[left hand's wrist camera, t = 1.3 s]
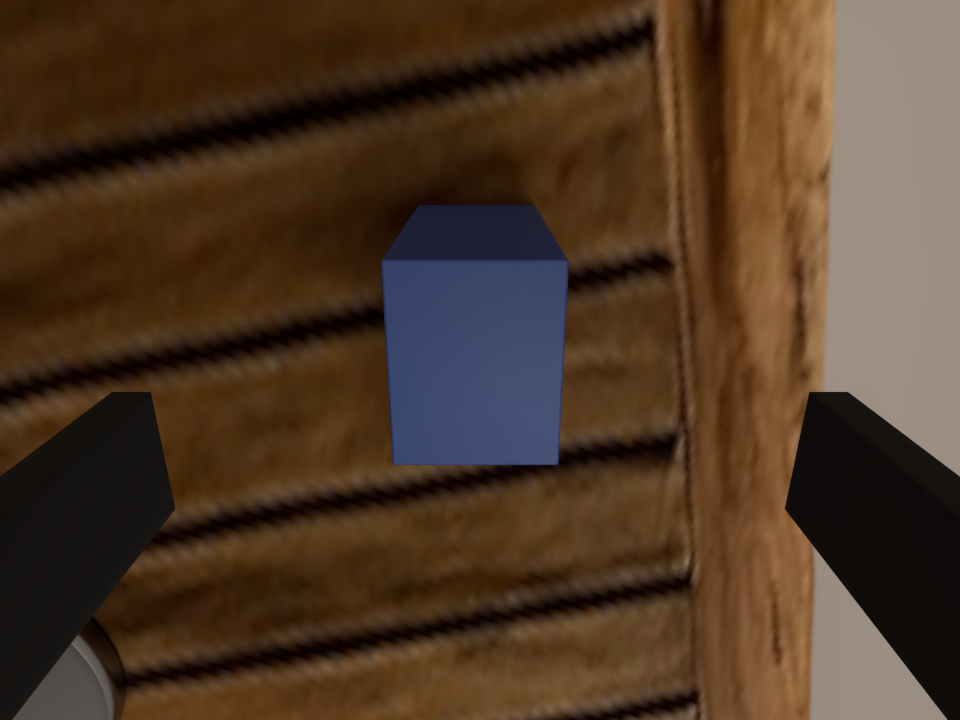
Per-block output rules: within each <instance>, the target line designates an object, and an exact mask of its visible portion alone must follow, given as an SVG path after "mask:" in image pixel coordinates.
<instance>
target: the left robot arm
mask: <svg viewBox="0 0 960 720" xmlns="http://www.w3.org/2000/svg"><path fill="white" fill-rule="evenodd" d="M174 510H175V506H174V501H173V496H172V492H171V487H170V482H169V477H168V473H167V468H166V463H165V458H164V454H163V449H162V444H161V439H160V435H159V430H158V425H157V420H156V416H155V411H154V406H153V401H152V397H151V392H112V393H110V394H109V395H108V396H106V397H105V398H104V399H102V400H101V401H100V402H98V403H97V404H96V405H94V406H93V407H92V408H90V409H89V410H88V411H86V412H85V413H84V414H82V415H81V416H80V417H78V418H77V419H76V420H75V421H73V422H72V423H71V424H69V425H68V426H67V427H65V428H64V429H63V430H61V431H60V432H59V433H57V434H56V435H55V436H53V437H52V438H51V439H49V440H48V441H47V442H45V443H44V444H43V445H41V446H40V447H39V448H37V449H36V450H35V451H34V452H32V453H31V454H30V455H28V456H27V457H26V458H24V459H23V460H22V461H20V462H19V463H18V464H16V465H15V466H14V467H12V468H11V469H10V470H8V471H7V472H6V473H4V474H3V475H2V476H0V720H119V719H120V717H121V715H122V712H123V708H124V704H125V681H124V675H123V672H122V668H121V665H120V663H119V660H118V658H117V656H116V654H115V652H114V650H113V648H112V646H111V645H110V643H109V642H108V640H107V639H106V637H105V636H104V635H103V633H102V632H101V631H100V630H99V629H98V627H97V626H96V625H95V624H94V623H93V622H92V621H91V620H90V619H91V617H92V616H93V615H94V613H95V612H96V611H97V609H98V608H99V607H100V606H101V604H102V603H103V602H104V600H105V599H106V598H107V597H108V595H109V594H110V593H111V591H112V590H113V589H114V587H115V586H116V585H117V584H118V582H119V581H120V580H121V578H122V577H123V576H124V575H125V573H126V572H127V571H128V569H129V568H130V567H131V565H132V564H133V563H134V562H135V560H136V559H137V558H138V556H139V555H140V554H141V552H142V551H143V550H144V549H145V547H146V546H147V545H148V543H149V542H150V541H151V540H152V538H153V537H154V536H155V534H156V533H157V532H158V530H159V529H160V528H161V527H162V525H163V524H164V523H165V521H166V520H167V519H168V518H169V516H170V515H171V514H172V512H173V511H174ZM785 510H786V511H787V512H788V514H789V515H790V516H791V518H792V519H793V520H794V521H795V523H796V524H797V525H798V527H799V528H800V529H801V530H802V532H803V533H804V534H805V536H806V537H807V538H808V540H809V541H810V542H811V543H812V545H813V546H814V547H815V549H816V550H817V551H818V552H819V554H820V555H821V556H822V558H823V559H824V560H825V562H826V563H827V564H828V565H829V567H830V568H831V569H832V571H833V572H834V573H835V574H836V576H837V577H838V578H839V580H840V581H841V582H842V584H843V585H844V586H845V587H846V589H847V590H848V591H849V593H850V594H851V595H852V597H853V598H854V599H855V600H856V602H857V603H858V604H859V606H860V607H861V608H862V609H863V611H864V612H865V613H866V615H867V616H868V617H869V618H870V620H871V621H872V622H873V624H874V625H875V626H876V628H877V629H878V630H879V631H880V633H881V634H882V635H883V637H884V638H885V639H886V641H887V642H888V643H889V644H890V646H891V647H892V648H893V650H894V651H895V652H896V654H897V655H898V656H899V657H900V659H901V660H902V661H903V663H904V664H905V665H906V666H907V668H908V669H909V670H910V672H911V673H912V674H913V676H914V677H915V678H916V679H917V681H918V682H919V683H920V685H921V686H922V687H923V689H924V690H925V691H926V692H927V694H928V695H929V696H930V698H931V699H932V700H933V701H934V703H935V704H936V705H937V707H938V708H939V709H940V710H941V712H942V713H943V714H944V716H945V717H946V718H947V720H960V476H958V475H957V474H956V473H954V472H953V471H952V470H950V469H949V468H948V467H946V466H945V465H944V464H942V463H941V462H940V461H938V460H937V459H936V458H934V457H933V456H932V455H930V454H929V453H928V452H926V451H925V450H924V449H922V448H921V447H920V446H919V445H917V444H916V443H914V442H913V441H912V440H911V439H909V438H908V437H907V436H905V435H904V434H903V433H901V432H900V431H899V430H897V429H896V428H895V427H893V426H892V425H891V424H889V423H888V422H887V421H885V420H884V419H883V418H882V417H880V416H879V415H878V414H876V413H875V412H874V411H872V410H871V409H870V408H868V407H867V406H866V405H864V404H863V403H862V402H860V401H859V400H858V399H856V398H855V397H854V396H852V395H851V394H850V393H848V392H809V397H808V401H807V406H806V411H805V416H804V420H803V425H802V430H801V435H800V439H799V444H798V449H797V454H796V458H795V463H794V468H793V473H792V477H791V482H790V487H789V492H788V496H787V501H786V506H785Z"/></svg>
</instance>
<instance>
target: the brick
mask: <svg viewBox="0 0 960 720" xmlns="http://www.w3.org/2000/svg"><path fill="white" fill-rule="evenodd" d="M568 267H569V261H568V259H567V258H566V256H565V254H564V253H563V251H562V249H561V248H560V246H559V245H558V243H557V241H556V240H555V238H554V236H553V235H552V233H551V231H550V230H549V228H548V227H547V225H546V223H545V222H544V220H543V218H542V217H541V215H540V214H539V212H538V210H537V209H536V207H535V205H418V206H417V208H416V209H415V211H414V212H413V214H412V215H411V217H410V219H409V220H408V222H407V223H406V225H405V226H404V228H403V229H402V231H401V232H400V234H399V235H398V237H397V238H396V240H395V241H394V243H393V244H392V246H391V247H390V249H389V250H388V252H387V253H386V255H385V256H384V258H383V259H382V261H381V270H382V287H383V304H384V321H385V338H386V355H387V372H388V389H389V407H390V424H391V441H392V458H393V464H394V465H556V464H558V459H559V440H560V421H561V401H562V382H563V363H564V344H565V325H566V305H567V286H568Z"/></svg>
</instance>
